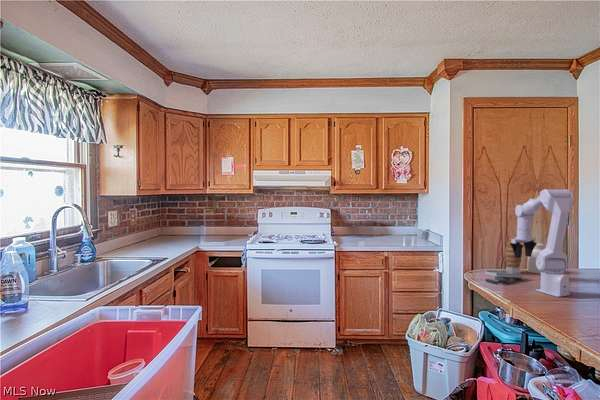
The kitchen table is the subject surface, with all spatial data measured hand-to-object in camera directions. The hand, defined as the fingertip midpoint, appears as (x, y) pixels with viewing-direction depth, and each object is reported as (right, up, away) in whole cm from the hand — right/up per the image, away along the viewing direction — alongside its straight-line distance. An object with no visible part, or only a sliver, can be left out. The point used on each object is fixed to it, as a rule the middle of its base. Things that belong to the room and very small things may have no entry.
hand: (522, 257), depth 168 cm
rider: (-7, -8, -2) cm, 11 cm away
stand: (-12, -11, -4) cm, 17 cm away
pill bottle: (+16, -10, +13) cm, 23 cm away
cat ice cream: (+2, -10, +11) cm, 15 cm away
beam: (-12, -8, -4) cm, 15 cm away
